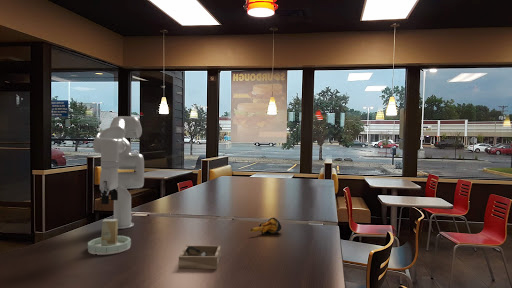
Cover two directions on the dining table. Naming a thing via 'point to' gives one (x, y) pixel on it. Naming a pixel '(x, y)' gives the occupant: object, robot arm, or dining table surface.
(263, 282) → the dining table surface
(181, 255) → the wooden display box
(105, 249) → the round tray
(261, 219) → the dining table surface
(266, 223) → the yellow gourd
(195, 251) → the eagle figurine
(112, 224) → the skincare box
